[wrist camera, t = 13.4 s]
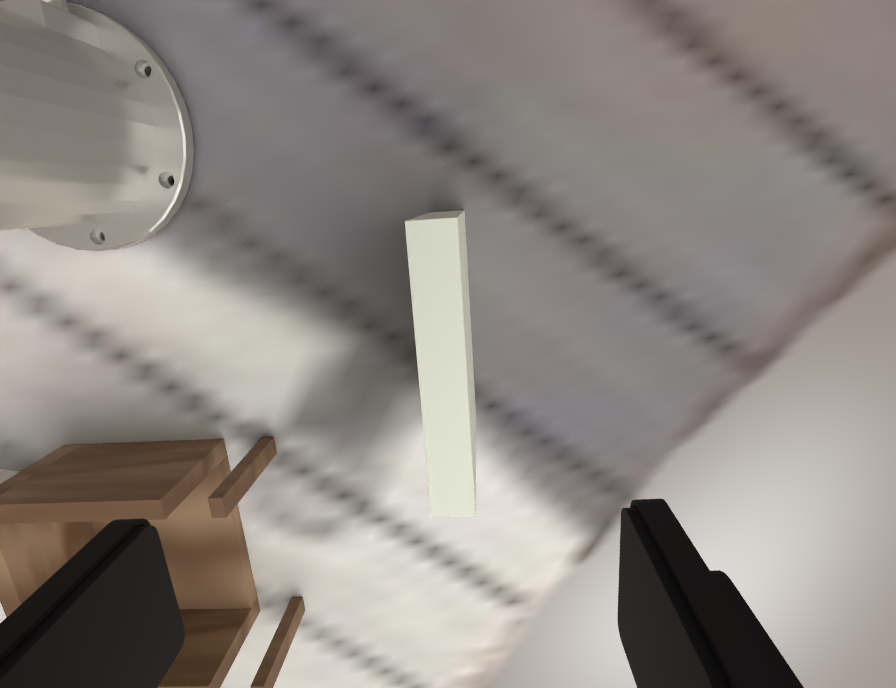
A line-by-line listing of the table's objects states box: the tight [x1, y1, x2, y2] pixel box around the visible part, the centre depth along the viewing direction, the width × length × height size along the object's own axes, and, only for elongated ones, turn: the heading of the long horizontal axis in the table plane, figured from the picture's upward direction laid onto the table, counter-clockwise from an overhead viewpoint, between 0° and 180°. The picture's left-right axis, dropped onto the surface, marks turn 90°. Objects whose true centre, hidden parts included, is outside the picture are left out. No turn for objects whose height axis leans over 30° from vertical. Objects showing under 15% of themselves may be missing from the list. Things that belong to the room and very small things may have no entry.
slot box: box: [0, 437, 305, 688], centre depth 32 cm, size 14×15×7 cm
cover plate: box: [405, 210, 476, 517], centre depth 26 cm, size 13×2×10 cm, turn 4°
